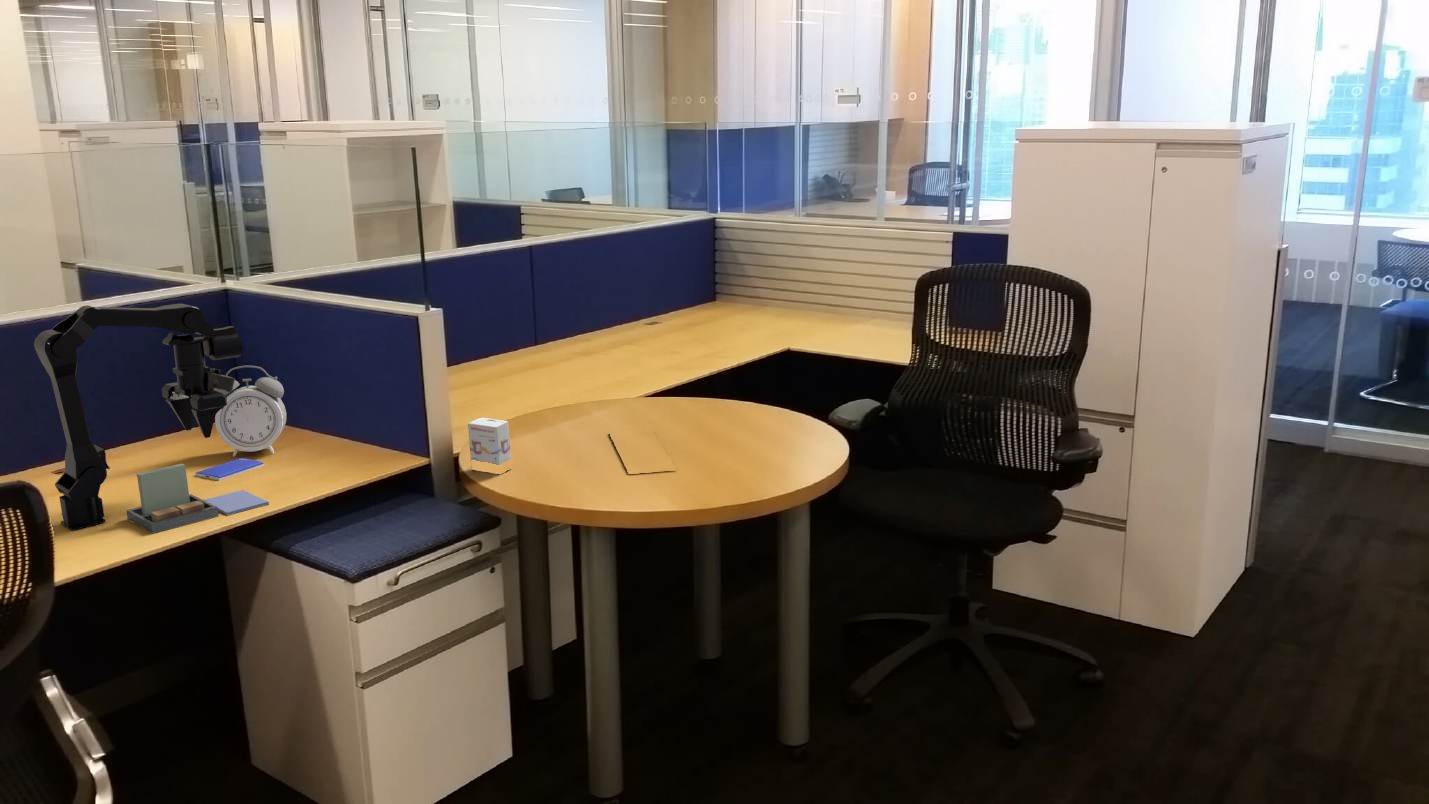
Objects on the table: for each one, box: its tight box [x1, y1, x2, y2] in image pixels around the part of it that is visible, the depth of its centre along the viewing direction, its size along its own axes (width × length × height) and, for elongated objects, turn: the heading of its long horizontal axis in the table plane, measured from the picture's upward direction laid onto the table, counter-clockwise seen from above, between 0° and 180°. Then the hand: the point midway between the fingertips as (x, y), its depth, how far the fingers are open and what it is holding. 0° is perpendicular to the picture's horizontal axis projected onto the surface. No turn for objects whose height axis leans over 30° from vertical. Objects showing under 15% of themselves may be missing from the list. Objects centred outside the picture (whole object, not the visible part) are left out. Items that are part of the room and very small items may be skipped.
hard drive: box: [195, 457, 265, 481], centre depth 258 cm, size 2×8×12 cm
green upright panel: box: [136, 463, 190, 515], centre depth 228 cm, size 9×2×10 cm, turn 138°
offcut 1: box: [151, 507, 180, 522], centre depth 223 cm, size 4×3×3 cm
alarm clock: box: [214, 365, 287, 457], centre depth 270 cm, size 16×9×22 cm, turn 104°
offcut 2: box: [176, 501, 205, 515], centre depth 227 cm, size 4×3×3 cm
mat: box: [203, 489, 270, 516], centre depth 235 cm, size 9×12×1 cm
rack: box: [125, 493, 220, 534], centre depth 227 cm, size 13×13×2 cm
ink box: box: [467, 417, 512, 465], centre depth 255 cm, size 9×5×12 cm, turn 65°
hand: (197, 433), depth 239 cm, fingers open, 9 cm apart
